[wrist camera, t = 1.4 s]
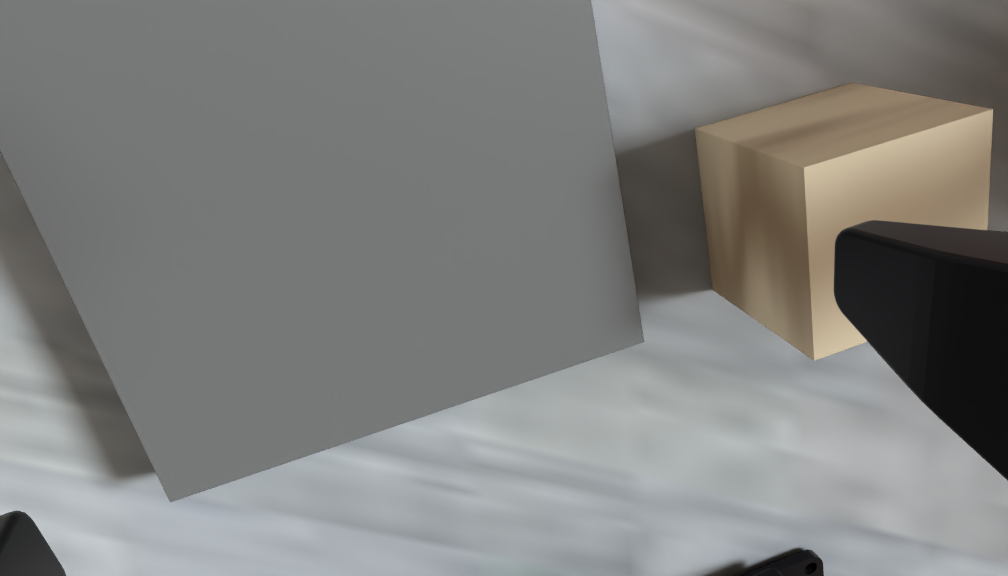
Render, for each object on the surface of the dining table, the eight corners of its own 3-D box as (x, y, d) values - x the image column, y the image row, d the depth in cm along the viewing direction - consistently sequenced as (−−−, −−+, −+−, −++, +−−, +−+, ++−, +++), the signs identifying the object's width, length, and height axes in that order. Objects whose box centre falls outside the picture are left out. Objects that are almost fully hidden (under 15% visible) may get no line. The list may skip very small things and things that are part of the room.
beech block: (854, 241, 25) (984, 300, 21) (711, 288, 24) (814, 360, 20) (850, 82, 23) (993, 108, 19) (693, 128, 22) (803, 167, 18)
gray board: (622, 320, 24) (644, 341, 22) (175, 469, 21) (170, 502, 20) (539, -177, 18) (561, -189, 17) (-67, -49, 16) (-97, -51, 15)
